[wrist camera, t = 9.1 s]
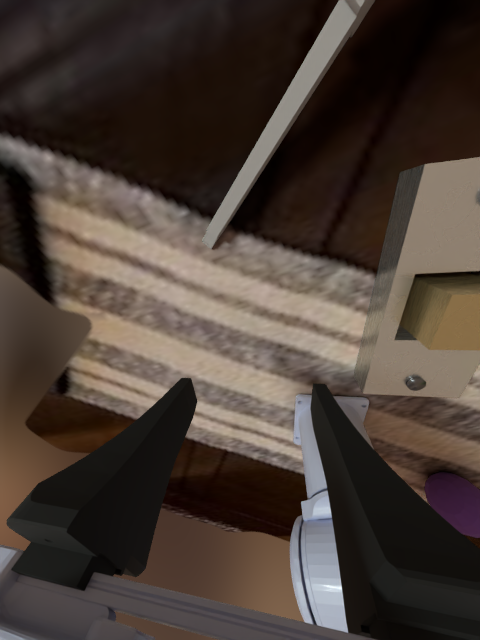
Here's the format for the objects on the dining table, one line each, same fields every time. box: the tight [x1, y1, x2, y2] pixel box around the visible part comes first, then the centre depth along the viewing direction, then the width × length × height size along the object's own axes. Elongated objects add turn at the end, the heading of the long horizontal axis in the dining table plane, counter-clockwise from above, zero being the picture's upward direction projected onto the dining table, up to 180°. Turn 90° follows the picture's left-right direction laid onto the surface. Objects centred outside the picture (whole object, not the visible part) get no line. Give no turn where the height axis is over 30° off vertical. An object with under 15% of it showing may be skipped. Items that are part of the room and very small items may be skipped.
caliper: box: [202, 0, 375, 249], centre depth 10 cm, size 20×1×6 cm, turn 142°
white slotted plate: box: [354, 157, 480, 398], centre depth 15 cm, size 18×8×3 cm, turn 6°
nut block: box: [399, 272, 480, 351], centre depth 15 cm, size 4×4×5 cm
